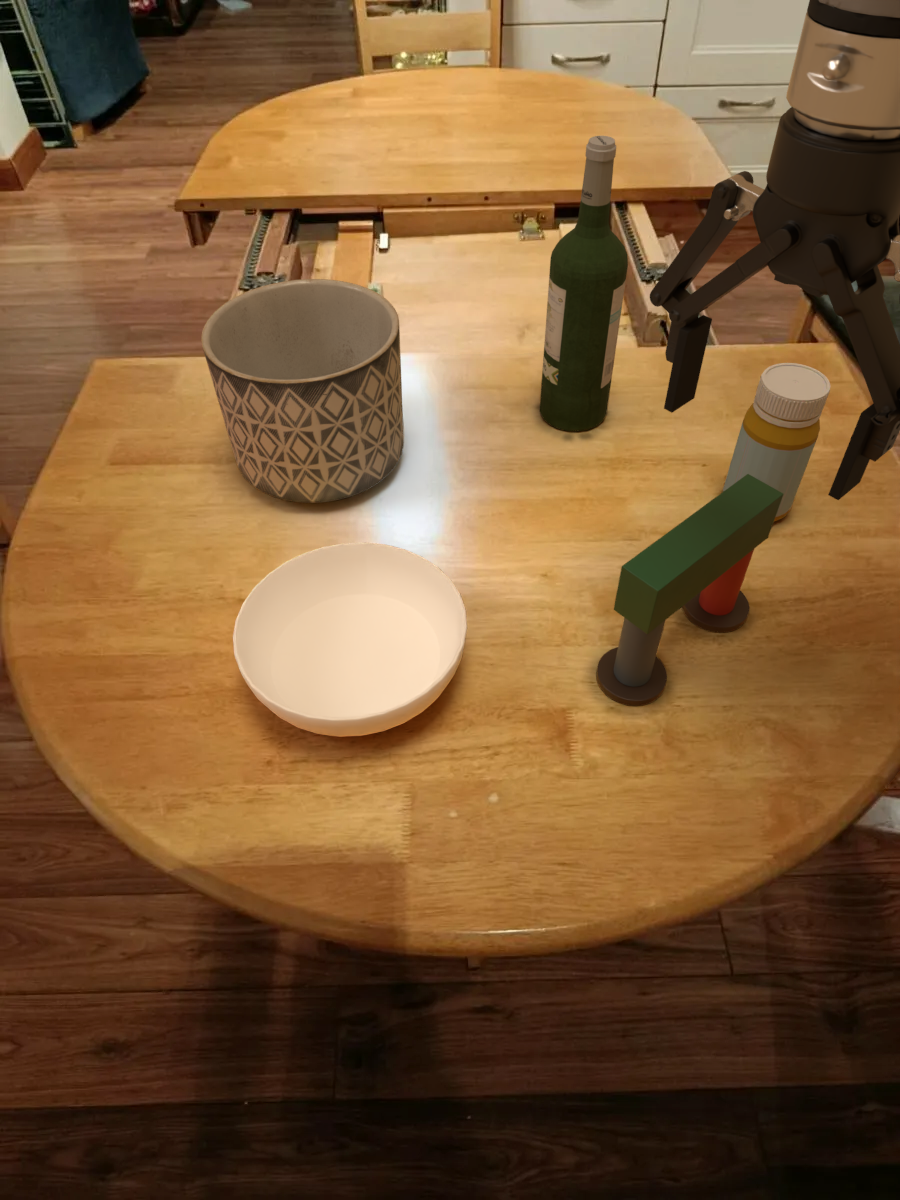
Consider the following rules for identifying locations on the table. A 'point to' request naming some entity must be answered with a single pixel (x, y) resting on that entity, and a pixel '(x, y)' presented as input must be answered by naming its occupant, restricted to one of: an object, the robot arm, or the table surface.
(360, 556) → the bowl
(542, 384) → the wine bottle
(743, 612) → the red peg on stand
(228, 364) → the planter
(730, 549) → the green bar
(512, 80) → the table surface
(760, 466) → the bottle
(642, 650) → the grey cylinder on disc
